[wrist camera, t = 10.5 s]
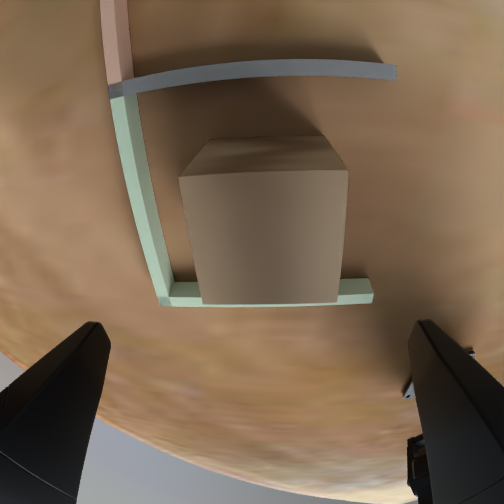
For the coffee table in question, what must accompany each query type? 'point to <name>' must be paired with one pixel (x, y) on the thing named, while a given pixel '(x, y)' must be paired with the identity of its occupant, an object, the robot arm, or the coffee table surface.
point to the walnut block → (266, 219)
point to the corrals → (134, 151)
